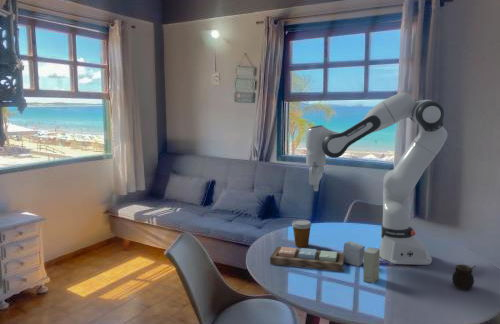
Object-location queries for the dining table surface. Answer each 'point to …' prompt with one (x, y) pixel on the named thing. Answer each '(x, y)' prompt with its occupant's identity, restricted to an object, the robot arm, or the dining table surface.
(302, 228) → the disposable coffee cup
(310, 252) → the tile two
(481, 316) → the dining table surface
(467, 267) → the mate gourd
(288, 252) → the tile three
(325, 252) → the tile one
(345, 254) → the medicine box
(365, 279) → the skincare box
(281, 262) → the key frame
